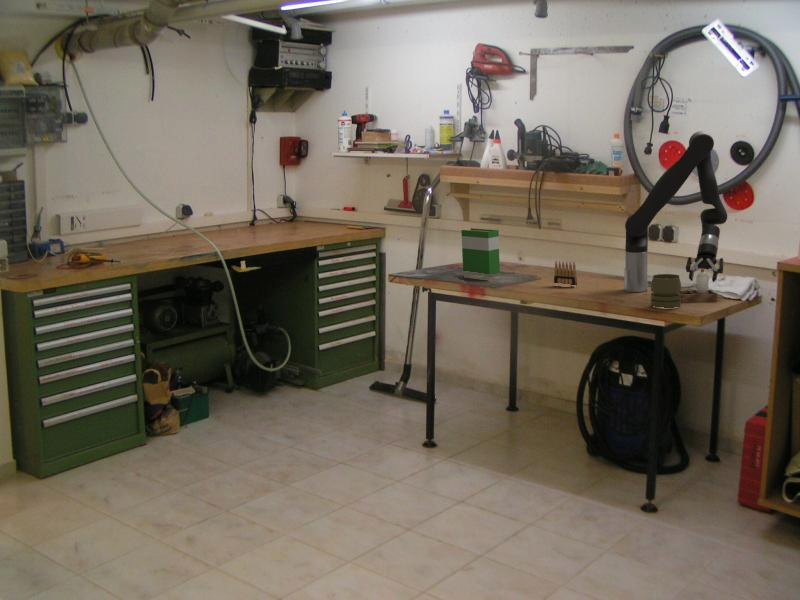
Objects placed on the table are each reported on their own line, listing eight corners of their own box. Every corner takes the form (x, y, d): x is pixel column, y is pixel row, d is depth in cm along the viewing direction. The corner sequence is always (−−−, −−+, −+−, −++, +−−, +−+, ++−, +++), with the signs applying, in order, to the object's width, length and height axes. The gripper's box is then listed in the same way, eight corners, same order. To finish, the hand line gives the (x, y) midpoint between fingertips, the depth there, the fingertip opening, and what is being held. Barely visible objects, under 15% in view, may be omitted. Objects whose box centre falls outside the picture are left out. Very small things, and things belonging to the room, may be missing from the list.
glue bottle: (698, 298, 348) (698, 269, 346) (695, 295, 353) (695, 267, 350) (709, 297, 348) (710, 269, 345) (706, 295, 352) (706, 267, 350)
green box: (463, 278, 428) (461, 230, 423) (473, 275, 432) (471, 228, 428) (489, 281, 415) (488, 232, 410) (500, 279, 419) (498, 230, 415)
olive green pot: (681, 274, 342) (680, 279, 332) (680, 303, 345) (680, 309, 334) (651, 273, 346) (650, 279, 336) (651, 303, 348) (650, 309, 338)
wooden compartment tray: (673, 302, 347) (673, 295, 346) (668, 298, 356) (668, 291, 355) (717, 301, 345) (717, 293, 345) (710, 296, 354) (711, 289, 354)
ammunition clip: (553, 286, 394) (553, 260, 391) (555, 285, 395) (555, 260, 393) (575, 288, 387) (575, 261, 385) (577, 287, 389) (576, 261, 386)
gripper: (688, 242, 356) (682, 274, 348) (725, 242, 349) (719, 275, 341) (691, 252, 361) (685, 284, 354) (727, 253, 354) (721, 286, 347)
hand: (702, 280), depth 347 cm, fingers open, 8 cm apart
